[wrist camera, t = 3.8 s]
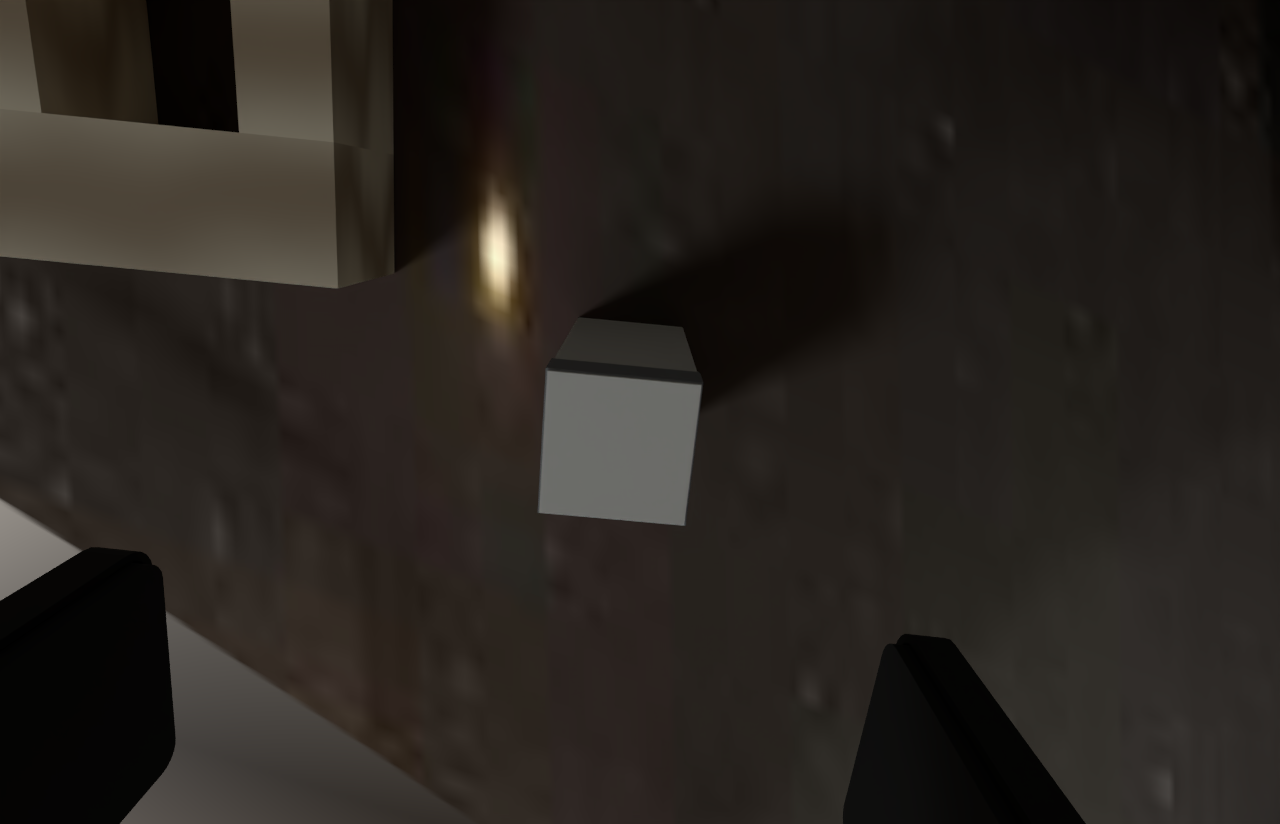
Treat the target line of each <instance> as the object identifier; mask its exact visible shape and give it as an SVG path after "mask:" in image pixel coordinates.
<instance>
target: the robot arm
mask: <svg viewBox="0 0 1280 824" xmlns="http://www.w3.org/2000/svg"><path fill="white" fill-rule="evenodd" d="M174 748H175V726H174V712H173V701H172V687H171V675H170V663H169V649H168V637H167V625H166V611H165V598H164V586H163V576H162V572H161V570H160V569H159V567H157V566H155V565H152V563H151V560H150V559H149V557H148V555H146V554H144V553H143V552H137V551H128V550H118V549H109V548H100V547H91V548H89V549H86V550H84V551H82V552H80V553H79V554H77V555H75V556H74V557H72V558H70V559H69V560H67V561H65V562H64V563H62V564H60V565H59V566H57V567H56V568H54V569H52V570H51V571H49V572H48V573H46V574H44V575H42V576H41V577H39V578H37V579H36V580H34V581H33V582H31V583H29V584H28V585H26V586H24V587H23V588H21V589H19V590H17V591H16V592H14V593H13V594H11V595H9V596H8V597H6V598H4V599H3V600H1V601H0V824H120V822H121V821H122V820H123V819H124V818H125V817H126V816H127V814H128V813H129V812H130V811H131V810H132V808H133V807H134V806H135V805H136V804H137V803H138V801H139V800H140V799H141V798H142V797H143V795H144V794H145V793H146V792H147V791H148V790H149V789H150V787H151V786H152V785H153V784H154V782H156V780H157V779H158V778H159V777H160V776H161V775H162V773H163V772H164V770H165V769H166V768H167V766H168V764H169V762H170V760H171V757H172V755H173V752H174ZM843 824H1086V823H1085V822H1084V821H1083V819H1082V818H1081V817H1080V815H1079V814H1078V813H1077V811H1076V810H1075V808H1074V807H1073V806H1072V804H1071V803H1070V802H1069V800H1068V799H1067V797H1066V796H1065V795H1064V793H1063V792H1062V791H1061V789H1060V788H1059V786H1058V785H1057V784H1056V782H1055V781H1054V780H1053V778H1052V777H1051V776H1050V774H1049V773H1048V771H1047V770H1046V769H1045V767H1044V766H1043V765H1042V763H1041V762H1040V760H1039V759H1038V758H1037V756H1036V755H1035V754H1034V752H1033V751H1032V749H1031V748H1030V747H1029V745H1028V744H1027V743H1026V741H1025V740H1024V739H1023V737H1022V736H1021V734H1020V733H1019V732H1018V730H1017V729H1016V728H1015V726H1014V725H1013V723H1012V722H1011V721H1010V719H1009V718H1008V717H1007V715H1006V714H1005V712H1004V711H1003V710H1002V708H1001V707H1000V706H999V704H998V703H997V702H996V700H995V699H994V697H993V696H992V695H991V693H990V692H989V691H988V689H987V688H986V686H985V685H984V684H983V682H982V681H981V680H980V678H979V677H978V675H977V674H976V673H975V671H974V670H973V669H972V667H971V666H970V665H969V663H968V662H967V660H966V659H965V658H964V656H963V655H962V654H961V652H960V651H959V649H958V648H957V647H956V645H955V644H954V643H953V642H952V641H951V640H950V639H946V638H939V637H930V636H920V635H911V634H904V635H902V636H901V637H900V638H899V639H898V641H897V644H888V645H887V646H886V647H885V648H884V651H883V654H882V657H881V661H880V665H879V669H878V673H877V677H876V681H875V685H874V689H873V693H872V697H871V701H870V705H869V709H868V713H867V717H866V720H865V724H864V728H863V732H862V736H861V740H860V744H859V748H858V752H857V756H856V760H855V764H854V768H853V772H852V776H851V780H850V784H849V788H848V792H847V796H846V799H845V803H844V809H843Z"/></svg>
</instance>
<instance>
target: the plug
mask: <svg viewBox="0 0 1280 824" xmlns="http://www.w3.org/2000/svg"><path fill="white" fill-rule="evenodd" d="M702 390H703V380H702V377H701V374H700V372H697V370H696V367H695V364H694V361H693V357H692V354H691V351H690V348H689V345H688V342H687V339H686V336H685V333H684V330H683V327H676V326H666V325H655V324H645V323H634V322H624V321H613V320H603V319H592V318H582V317H578V319H577V321H576V322H575V324H574V326H573V328H572V329H571V331H570V333H569V334H568V336H567V338H566V340H565V341H564V343H563V345H562V346H561V348H560V350H559V352H558V353H557V355H556V357H555V358H552V359H551V360H550V362H549V364H548V365H547V367H546V375H545V393H544V410H543V428H542V445H541V463H540V480H539V498H538V513H547V514H559V515H570V516H581V517H593V518H604V519H615V520H627V521H638V522H649V523H660V524H672V525H683V526H686V518H687V510H688V502H689V494H690V486H691V478H692V470H693V462H694V454H695V446H696V438H697V430H698V422H699V414H700V406H701V398H702Z"/></svg>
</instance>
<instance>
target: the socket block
mask: <svg viewBox="0 0 1280 824" xmlns="http://www.w3.org/2000/svg"><path fill="white" fill-rule="evenodd" d="M230 3H231V18H232V33H233V48H234V63H235V78H236V93H237V108H238V123H239V133H237V132H227V131H217V130H207V129H197V128H187V127H177V126H167V125H158V115H157V104H156V94H155V84H154V74H153V63H152V53H151V43H150V33H149V22H148V12H147V2H146V0H0V256H3V257H14V258H24V259H35V260H45V261H55V262H66V263H76V264H87V265H97V266H108V267H118V268H129V269H139V270H150V271H160V272H171V273H181V274H192V275H202V276H213V277H223V278H234V279H244V280H255V281H265V282H276V283H286V284H297V285H307V286H318V287H328V288H341V287H345V286H349V285H353V284H356V283H360V282H364V281H367V280H371V279H375V278H379V277H382V276H386V275H390V274H393V273H394V145H393V2H392V0H230Z"/></svg>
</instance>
